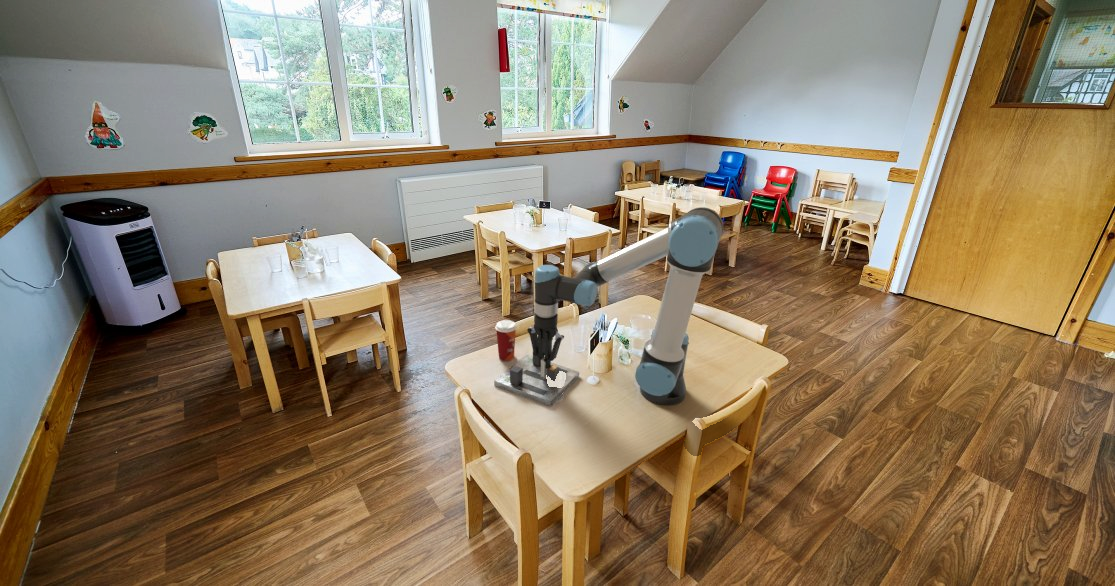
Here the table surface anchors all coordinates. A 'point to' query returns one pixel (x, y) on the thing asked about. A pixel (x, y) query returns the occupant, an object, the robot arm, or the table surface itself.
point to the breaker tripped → (552, 372)
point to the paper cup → (506, 339)
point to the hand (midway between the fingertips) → (544, 374)
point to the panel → (535, 382)
